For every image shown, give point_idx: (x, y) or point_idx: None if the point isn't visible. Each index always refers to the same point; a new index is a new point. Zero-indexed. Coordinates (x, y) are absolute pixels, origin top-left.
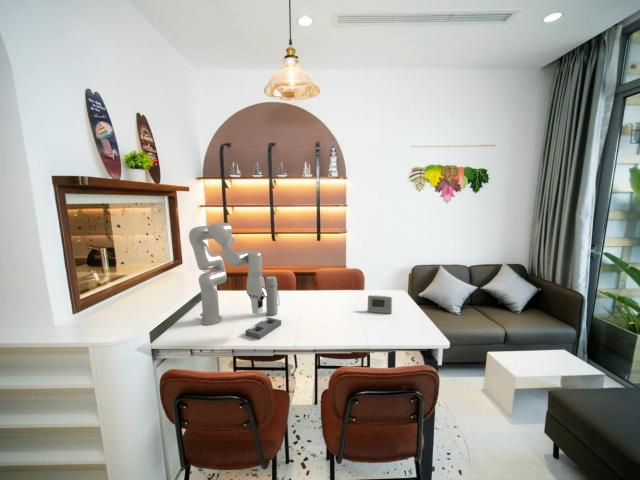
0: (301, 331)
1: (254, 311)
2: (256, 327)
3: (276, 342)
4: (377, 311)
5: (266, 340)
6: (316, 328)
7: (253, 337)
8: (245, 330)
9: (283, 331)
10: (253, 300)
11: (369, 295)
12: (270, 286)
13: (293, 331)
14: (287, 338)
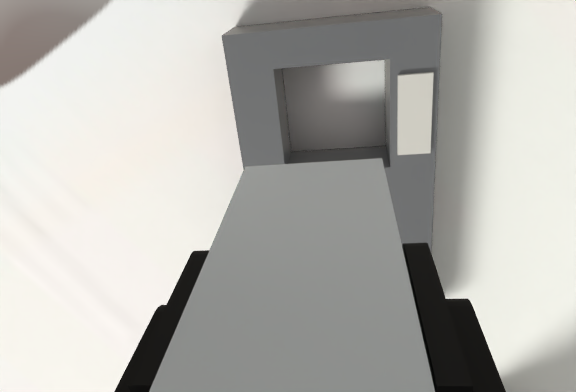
0: (75, 299)
1: (326, 181)
2: (389, 151)
3: (68, 71)
4: None
5: (167, 50)
6: (37, 366)
7: (317, 19)
8: (441, 14)
9: (179, 244)
10: (337, 367)
11: None
12: None
13: (119, 276)
14: (60, 172)
